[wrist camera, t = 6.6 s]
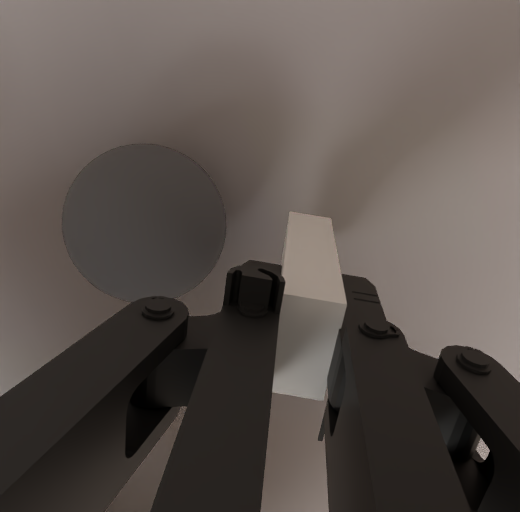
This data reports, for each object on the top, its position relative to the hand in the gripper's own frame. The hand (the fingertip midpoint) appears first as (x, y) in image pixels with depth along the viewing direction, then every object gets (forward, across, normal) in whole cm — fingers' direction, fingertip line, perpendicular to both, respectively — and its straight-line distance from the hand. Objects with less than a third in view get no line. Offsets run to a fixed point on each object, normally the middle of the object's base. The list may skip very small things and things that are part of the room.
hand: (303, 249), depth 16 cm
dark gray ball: (-1, +6, 0) cm, 6 cm away
